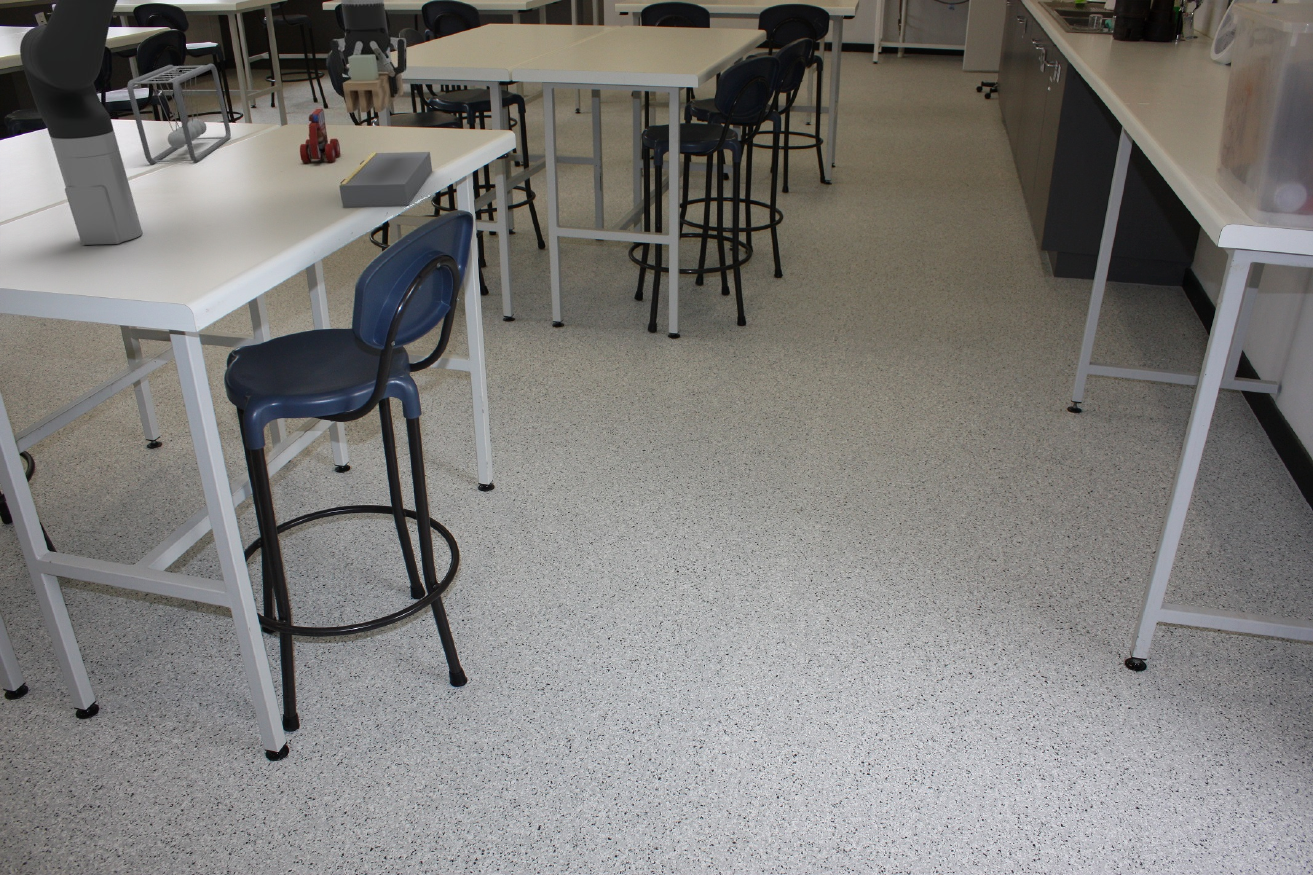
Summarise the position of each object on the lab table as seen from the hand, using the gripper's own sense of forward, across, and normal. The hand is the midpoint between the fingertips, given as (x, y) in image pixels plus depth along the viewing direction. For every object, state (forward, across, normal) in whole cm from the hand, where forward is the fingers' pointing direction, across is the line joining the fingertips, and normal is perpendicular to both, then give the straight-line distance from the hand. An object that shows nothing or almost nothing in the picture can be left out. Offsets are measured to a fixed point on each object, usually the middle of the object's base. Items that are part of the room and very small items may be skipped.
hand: (376, 97), depth 181 cm
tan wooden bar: (+1, 0, 0) cm, 1 cm away
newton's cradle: (+18, -55, +41) cm, 71 cm away
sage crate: (-4, 0, -6) cm, 7 cm away
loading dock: (+17, 0, 0) cm, 17 cm away
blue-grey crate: (-4, 0, +6) cm, 7 cm away
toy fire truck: (+18, -21, +28) cm, 39 cm away
